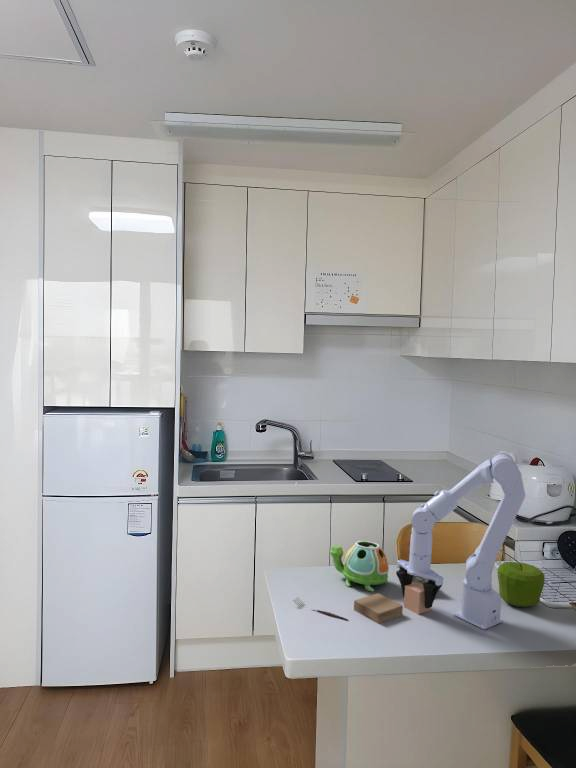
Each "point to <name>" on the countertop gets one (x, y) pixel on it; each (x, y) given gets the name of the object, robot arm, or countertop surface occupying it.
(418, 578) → the egg carton
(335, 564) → the turtle holder
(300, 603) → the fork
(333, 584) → the countertop surface
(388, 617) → the walnut block
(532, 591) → the apple
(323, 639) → the countertop surface
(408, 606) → the terracotta block
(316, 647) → the countertop surface
